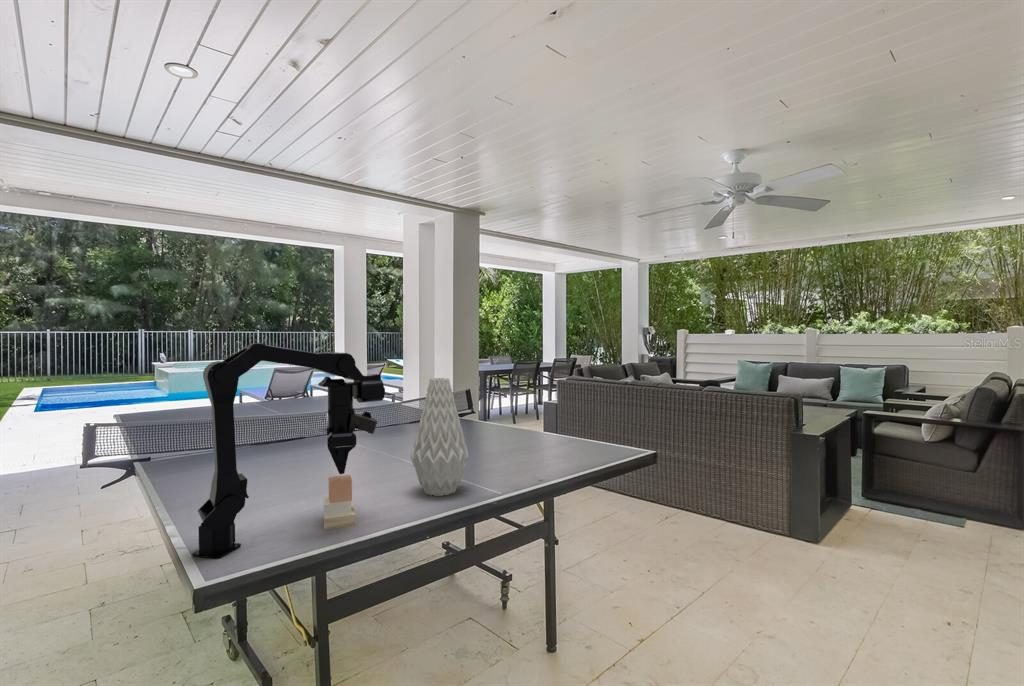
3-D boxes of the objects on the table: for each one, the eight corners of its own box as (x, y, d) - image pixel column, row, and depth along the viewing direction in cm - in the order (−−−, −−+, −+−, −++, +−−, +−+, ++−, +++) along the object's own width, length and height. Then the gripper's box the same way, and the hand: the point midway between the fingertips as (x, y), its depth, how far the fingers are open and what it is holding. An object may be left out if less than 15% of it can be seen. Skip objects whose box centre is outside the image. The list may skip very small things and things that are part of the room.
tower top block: (351, 514, 121) (351, 501, 121) (324, 517, 119) (324, 505, 119) (349, 506, 127) (349, 494, 127) (323, 509, 124) (323, 497, 124)
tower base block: (355, 527, 121) (355, 514, 121) (324, 531, 118) (324, 518, 118) (353, 517, 127) (353, 505, 127) (324, 521, 125) (323, 508, 125)
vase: (403, 488, 150) (402, 377, 150) (455, 480, 158) (454, 375, 158) (422, 504, 136) (421, 381, 135) (478, 494, 144) (477, 379, 143)
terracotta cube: (352, 500, 122) (351, 479, 122) (329, 503, 120) (329, 482, 120) (350, 494, 126) (349, 474, 126) (328, 497, 124) (328, 477, 124)
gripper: (378, 407, 116) (379, 475, 117) (371, 398, 134) (372, 457, 134) (327, 410, 112) (327, 480, 113) (326, 400, 130) (327, 461, 130)
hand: (341, 469), depth 122 cm, fingers open, 9 cm apart
